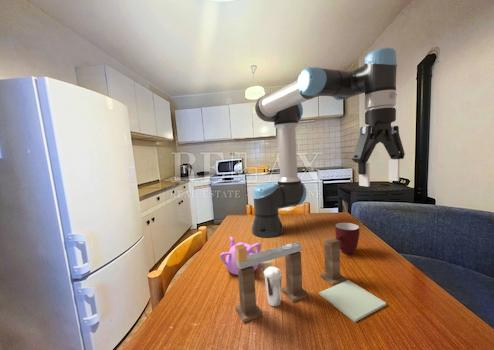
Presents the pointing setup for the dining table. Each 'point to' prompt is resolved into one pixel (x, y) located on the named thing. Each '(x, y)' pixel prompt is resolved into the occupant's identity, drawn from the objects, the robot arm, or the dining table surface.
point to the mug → (347, 237)
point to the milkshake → (273, 285)
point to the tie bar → (263, 254)
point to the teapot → (230, 258)
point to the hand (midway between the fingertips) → (379, 183)
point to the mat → (352, 300)
